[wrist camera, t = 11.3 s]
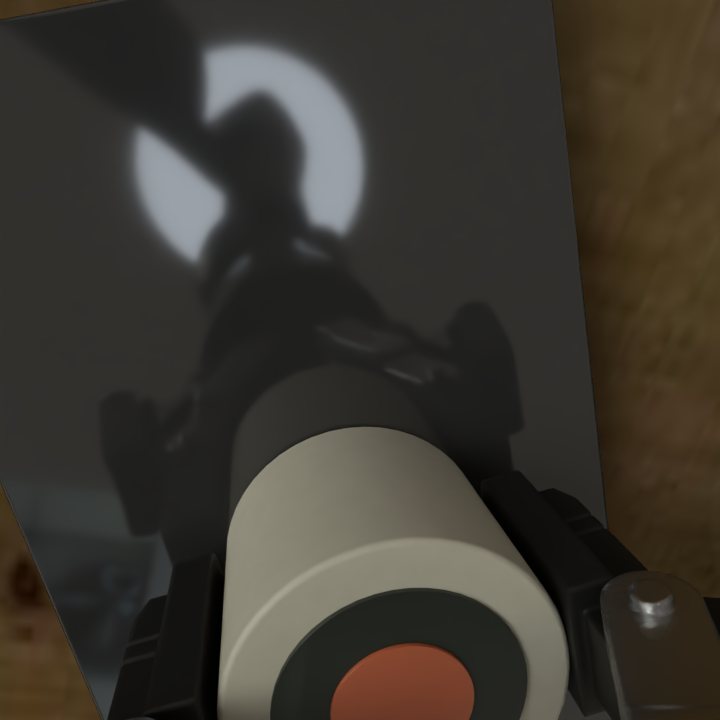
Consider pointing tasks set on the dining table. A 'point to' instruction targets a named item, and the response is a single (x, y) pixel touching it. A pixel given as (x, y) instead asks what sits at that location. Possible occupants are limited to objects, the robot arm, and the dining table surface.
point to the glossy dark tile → (273, 270)
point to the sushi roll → (381, 593)
